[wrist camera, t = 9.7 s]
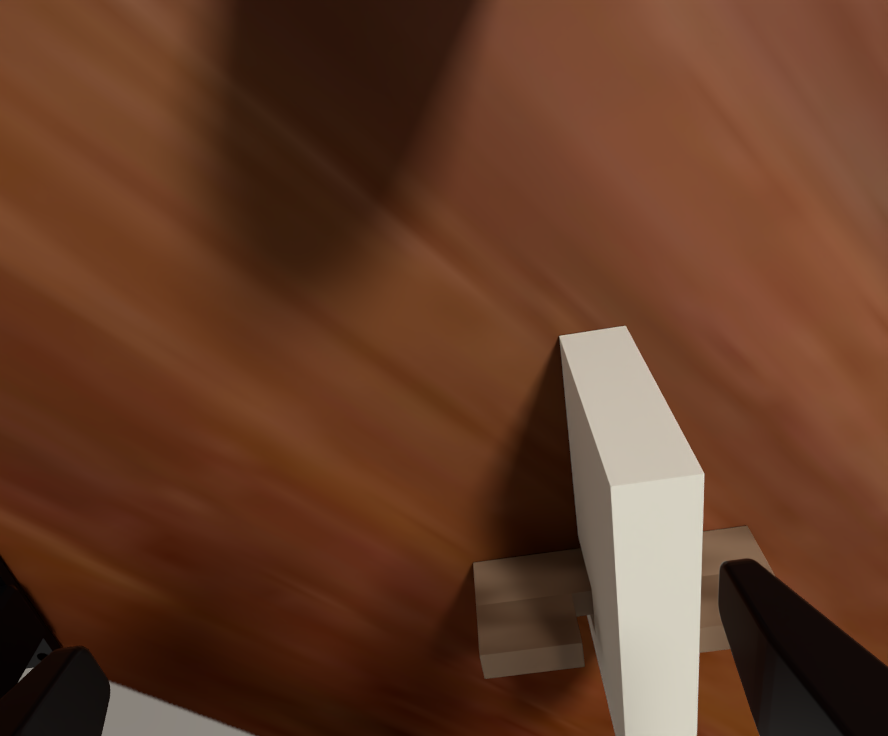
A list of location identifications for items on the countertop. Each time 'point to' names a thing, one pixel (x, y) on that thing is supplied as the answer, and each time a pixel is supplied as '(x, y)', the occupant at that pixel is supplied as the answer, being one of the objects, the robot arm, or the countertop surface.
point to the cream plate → (636, 533)
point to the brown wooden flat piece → (574, 605)
